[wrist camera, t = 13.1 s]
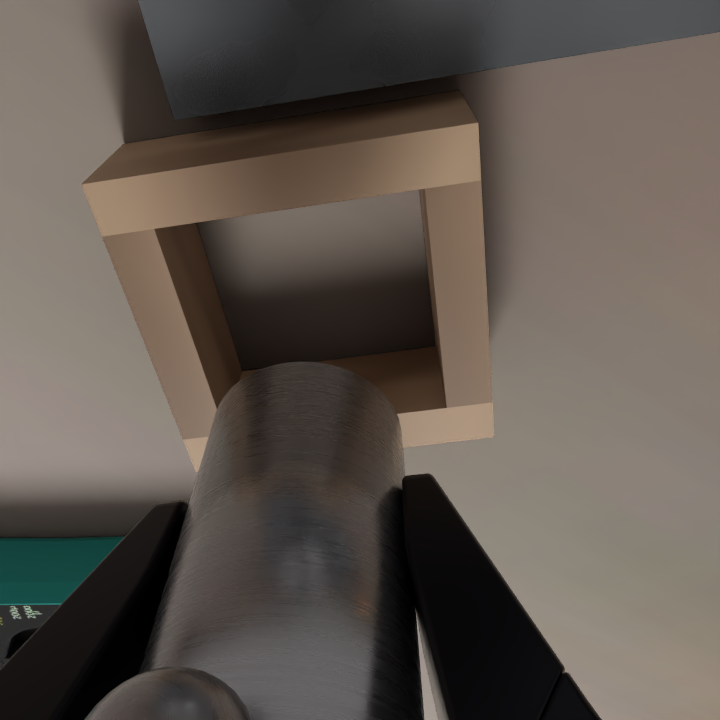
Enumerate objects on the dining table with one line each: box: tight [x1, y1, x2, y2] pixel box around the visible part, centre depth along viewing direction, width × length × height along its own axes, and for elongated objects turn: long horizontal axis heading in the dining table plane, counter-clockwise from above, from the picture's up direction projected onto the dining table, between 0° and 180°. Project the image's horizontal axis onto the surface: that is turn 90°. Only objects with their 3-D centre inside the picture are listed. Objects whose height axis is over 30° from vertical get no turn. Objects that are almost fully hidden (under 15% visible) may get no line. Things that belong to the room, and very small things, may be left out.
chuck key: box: [84, 361, 424, 720], centre depth 8 cm, size 3×6×7 cm, turn 9°
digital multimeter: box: [0, 536, 125, 669], centre depth 22 cm, size 7×15×3 cm, turn 90°
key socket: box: [81, 90, 494, 472], centre depth 14 cm, size 7×7×2 cm
